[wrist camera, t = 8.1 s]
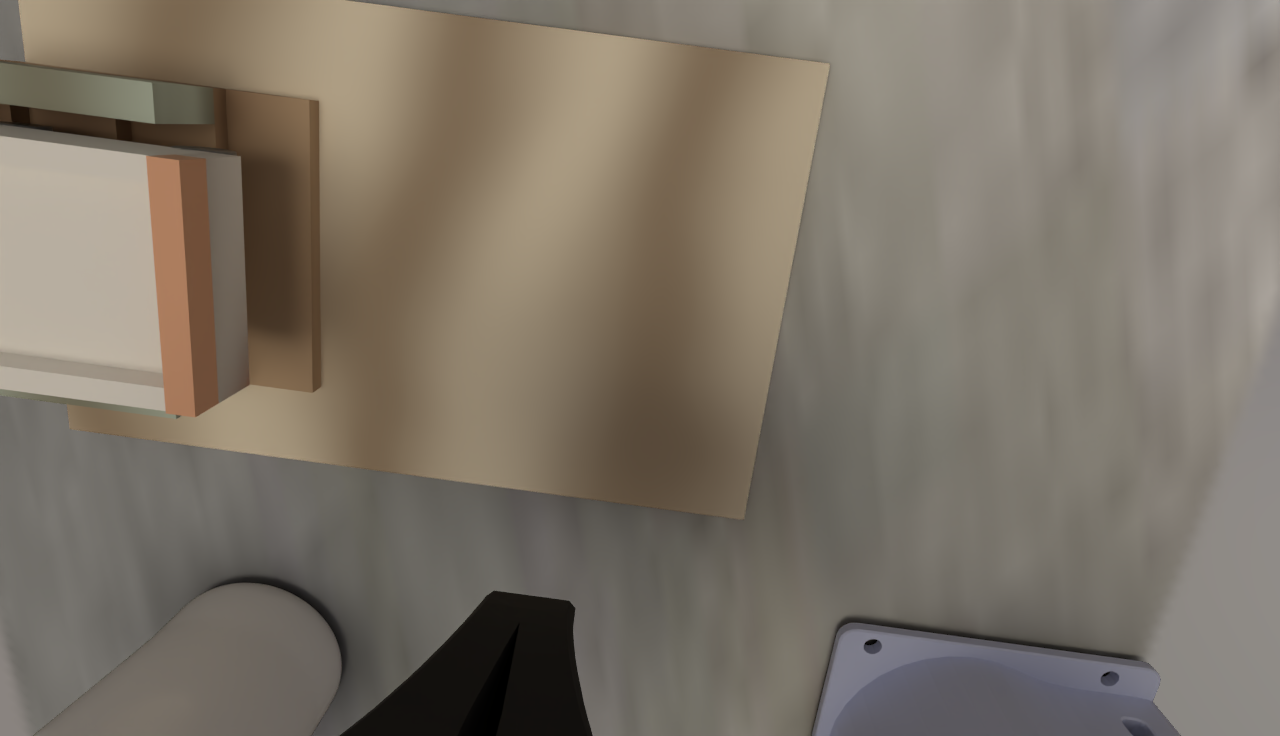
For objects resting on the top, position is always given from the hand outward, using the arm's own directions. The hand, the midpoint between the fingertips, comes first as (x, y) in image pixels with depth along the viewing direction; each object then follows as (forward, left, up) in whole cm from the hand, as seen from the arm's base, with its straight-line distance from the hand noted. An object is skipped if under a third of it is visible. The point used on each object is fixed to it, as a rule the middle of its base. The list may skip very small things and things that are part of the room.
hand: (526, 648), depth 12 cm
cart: (+10, -4, -7) cm, 13 cm away
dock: (+5, -4, -9) cm, 11 cm away
